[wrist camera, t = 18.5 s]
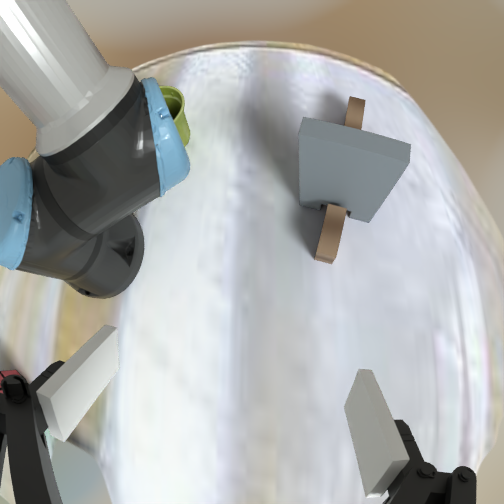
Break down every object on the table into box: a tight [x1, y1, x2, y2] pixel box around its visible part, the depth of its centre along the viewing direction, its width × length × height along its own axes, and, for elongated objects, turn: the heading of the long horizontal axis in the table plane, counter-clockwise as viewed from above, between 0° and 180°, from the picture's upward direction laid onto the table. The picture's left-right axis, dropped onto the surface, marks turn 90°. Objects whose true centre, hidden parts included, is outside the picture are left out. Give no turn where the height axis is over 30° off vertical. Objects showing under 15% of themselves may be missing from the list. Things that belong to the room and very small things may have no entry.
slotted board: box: [314, 96, 365, 264], centre depth 40 cm, size 24×2×5 cm, turn 164°
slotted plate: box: [298, 117, 411, 223], centre depth 33 cm, size 10×2×18 cm, turn 74°
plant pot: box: [159, 86, 190, 147], centre depth 44 cm, size 9×9×9 cm
